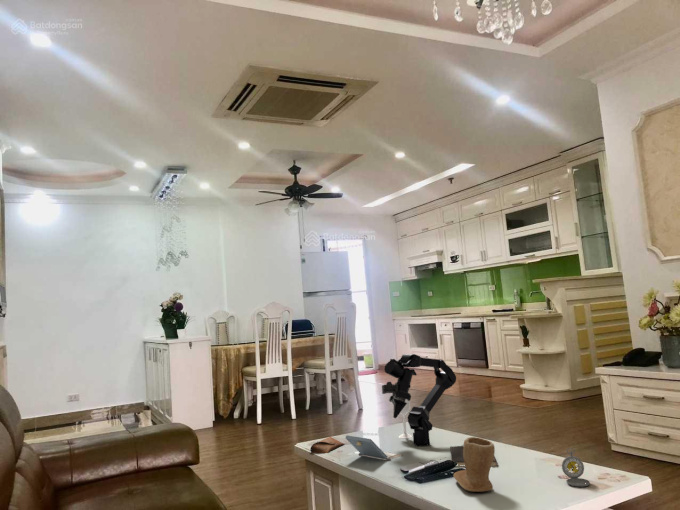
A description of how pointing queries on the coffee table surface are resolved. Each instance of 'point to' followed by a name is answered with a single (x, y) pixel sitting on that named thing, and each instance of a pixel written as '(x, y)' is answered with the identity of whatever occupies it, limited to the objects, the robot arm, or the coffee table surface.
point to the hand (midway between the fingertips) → (394, 417)
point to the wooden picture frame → (389, 456)
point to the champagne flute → (404, 412)
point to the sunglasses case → (325, 445)
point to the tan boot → (476, 465)
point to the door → (366, 447)
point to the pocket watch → (570, 464)
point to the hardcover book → (458, 456)
